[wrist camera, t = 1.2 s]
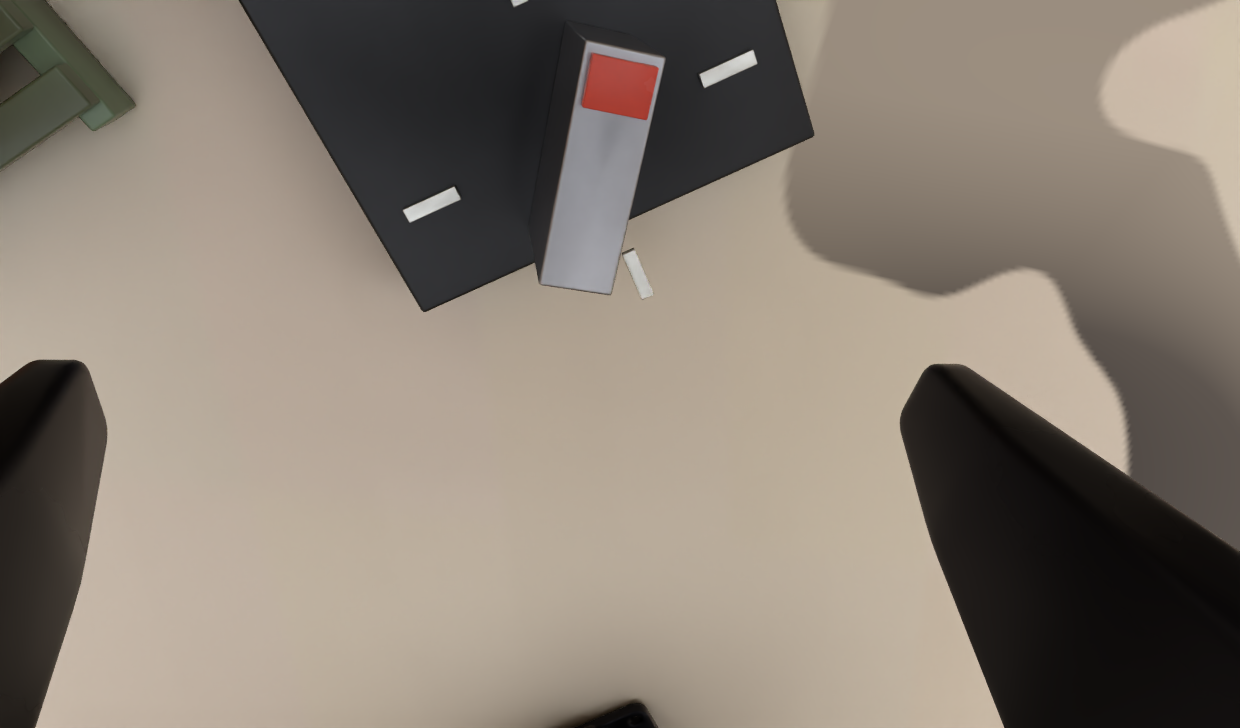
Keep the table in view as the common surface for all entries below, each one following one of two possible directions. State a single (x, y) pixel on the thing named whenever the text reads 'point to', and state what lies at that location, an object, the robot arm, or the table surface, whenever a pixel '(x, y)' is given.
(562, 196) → the grey and red block
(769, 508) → the table surface
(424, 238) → the hob
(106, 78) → the rack
